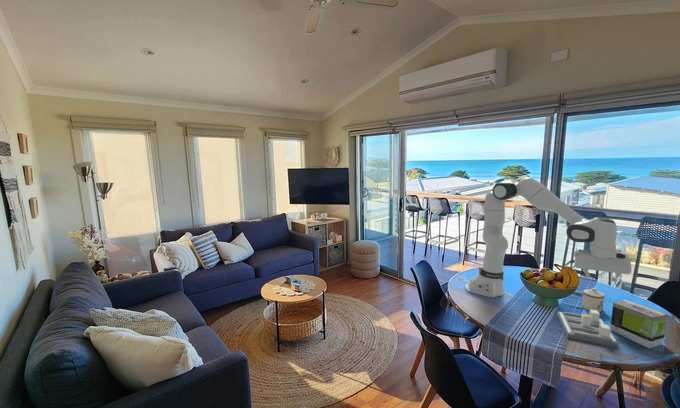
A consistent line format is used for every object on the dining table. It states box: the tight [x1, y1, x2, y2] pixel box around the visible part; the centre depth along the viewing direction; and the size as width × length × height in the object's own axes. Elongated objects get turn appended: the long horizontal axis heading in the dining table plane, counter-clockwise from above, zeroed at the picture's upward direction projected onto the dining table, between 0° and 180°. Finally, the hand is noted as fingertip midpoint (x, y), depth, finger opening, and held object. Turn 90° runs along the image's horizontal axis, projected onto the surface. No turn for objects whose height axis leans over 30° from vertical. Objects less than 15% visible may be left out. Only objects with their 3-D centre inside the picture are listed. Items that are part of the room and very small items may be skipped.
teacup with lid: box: [581, 287, 606, 313], centre depth 161 cm, size 12×9×12 cm
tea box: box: [609, 299, 668, 349], centre depth 134 cm, size 15×10×15 cm, turn 17°
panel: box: [556, 309, 619, 348], centre depth 141 cm, size 18×22×7 cm
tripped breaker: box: [580, 313, 591, 327], centre depth 141 cm, size 3×4×5 cm
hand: (600, 279), depth 140 cm, fingers open, 8 cm apart
